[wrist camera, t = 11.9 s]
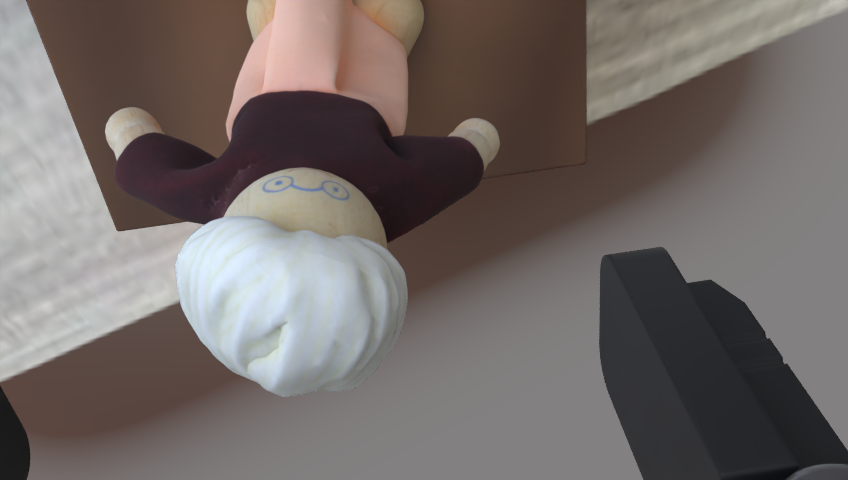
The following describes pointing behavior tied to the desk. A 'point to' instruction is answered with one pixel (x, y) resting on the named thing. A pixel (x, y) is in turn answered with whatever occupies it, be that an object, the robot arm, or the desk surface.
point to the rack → (231, 40)
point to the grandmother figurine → (305, 193)
